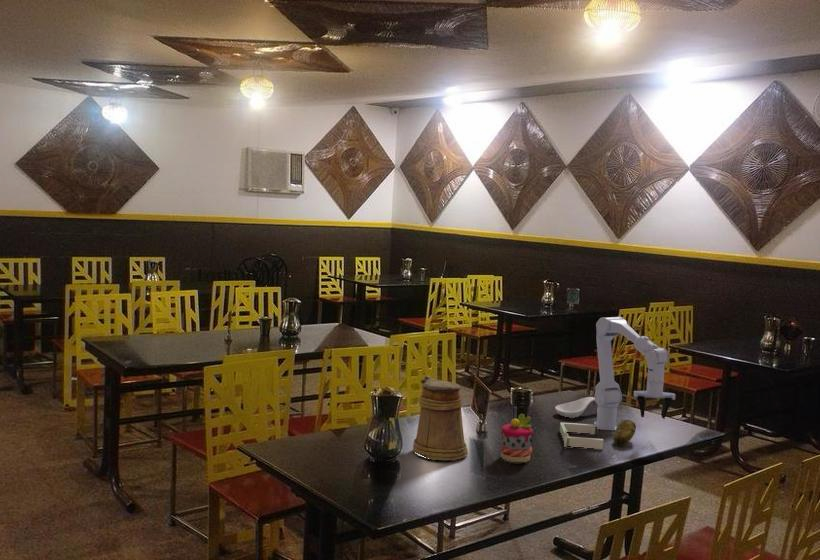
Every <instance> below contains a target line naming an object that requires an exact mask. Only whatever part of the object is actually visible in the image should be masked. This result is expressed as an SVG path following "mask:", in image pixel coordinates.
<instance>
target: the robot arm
mask: <svg viewBox="0 0 820 560" xmlns="http://www.w3.org/2000/svg"><path fill="white" fill-rule="evenodd" d="M595 327H596V329H595V330H596V336H595V337H596V348H597V349H596V350H597V359H598V360H597V361H598V371H599V372H598V373H599V382H598V383H597V384H596V386H595V388H594V389H595V393H594V398H595V401H594V402H595V403H596V405H597V411H596V421H594V422H593V425H595V428H596V427H597V428H596V429H597V430H599V429H600V430H601V431H602V430H603V431H614V430H616V428H617V413H618V412H617V411H618V407H619V404H620V403H621V402H622V400H623V395H622V392H621V388H620V384H619V383H617V382H616V381H615V372H614V371H615V370H614V361H613V350H612V349H613V348H612V341H613V339H614V338H615V337H616V336H619V334H620V335H622V336H623V337H625V338H626V339H627V340H629V341H630V342H631V343H633V347H634V348H635V350H637V351H638V352H639V353H640V354H641V355H643V356H644V357H645V362H646V366H647V381H646V390H633V397H634V398H635V399H636V401H637V403H638V407H639V411H640V417H641V418H645V408H646V407H645V405H646V399H645V398H650V399H662V401H661V402H662V403H661V404H662V407H661V408H662V409H661V418H662V419H665V418H666V415H667V412H668V411H669V408H670V407H671V405H672V404H673V400H674V401H675V400H676V394H675V393H673V392H665V391H664V383H665V368H666V363H668V361H669V359H670V354H669V352H668V350H667V349H666V347H660V346H658V345H657V344H655V343H654V342H652V340H650V338H649V337H648V336H644V335H639V333H637V332H636V330H634V329H633V328H632V327H631V326H630V325H629V324H628V321H627V320H626V319H624V318H623V317H622V316H611V317H609V316H608V317H600V318H599V319H598V320H597V322H596V323H595ZM600 430H599V431H600Z"/></svg>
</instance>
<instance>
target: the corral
mask: <svg viewBox="0 0 820 560" xmlns="http://www.w3.org/2000/svg"><path fill="white" fill-rule="evenodd" d="M565 430H567V432H577V433H576V434H580V433H590V434H589V435H596V426H595V424H591V423H576V422H575V423H573V422H560V423H559V433H561V434H560V436H561V435H562V436H561V438H563V439H562V442H563V441H564V440H565ZM566 446H571V447H570V448H573V447H584V448H583V449H587V448H594V449H593V450H602V449H603V450H604V439H603V438H592V437H580V436H579V437H577V436H569V433H567V444H566Z"/></svg>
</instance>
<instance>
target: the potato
mask: <svg viewBox="0 0 820 560" xmlns="http://www.w3.org/2000/svg"><path fill="white" fill-rule="evenodd" d="M616 427H617V428H616V430H615V431H614V433H613V440H612V441H613V442H614V444H616V445H618V446H619V447H624V446H626V445H627V444H628V443H629V442H630V441H631V440H632V438H633V437H634V435H635V433H636V429H637V425H636V423H635V422H634V421H632V420H629V419H623V420H621V421H620V422H619V423H618V424H617V425H616Z"/></svg>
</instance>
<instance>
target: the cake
mask: <svg viewBox="0 0 820 560" xmlns="http://www.w3.org/2000/svg"><path fill="white" fill-rule="evenodd" d="M531 420H532V419H531V416H526V417H525V414H524V413H520V414H519V415H518V417H514V418H513V419H511V421H510V423H507V424H504V425H503V426H502V427H501V446H500V447H499V449H500V450H501V451H500V452H501V453H500V458H501V457H502V458H503V459H505V460H507V461H511V462H527V461H529V460H530V461H531V454H532V453H533V448H532V447H533V446H532V443H533V442H532V441H533V439H532V437H533V429H532V425H531V424H529V423H530V422H531Z"/></svg>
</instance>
